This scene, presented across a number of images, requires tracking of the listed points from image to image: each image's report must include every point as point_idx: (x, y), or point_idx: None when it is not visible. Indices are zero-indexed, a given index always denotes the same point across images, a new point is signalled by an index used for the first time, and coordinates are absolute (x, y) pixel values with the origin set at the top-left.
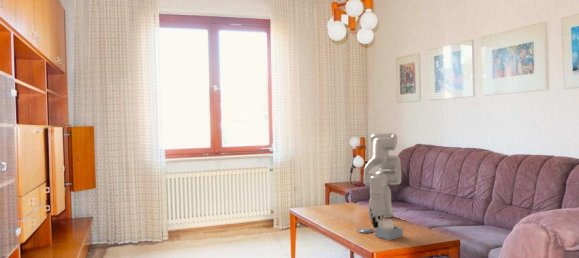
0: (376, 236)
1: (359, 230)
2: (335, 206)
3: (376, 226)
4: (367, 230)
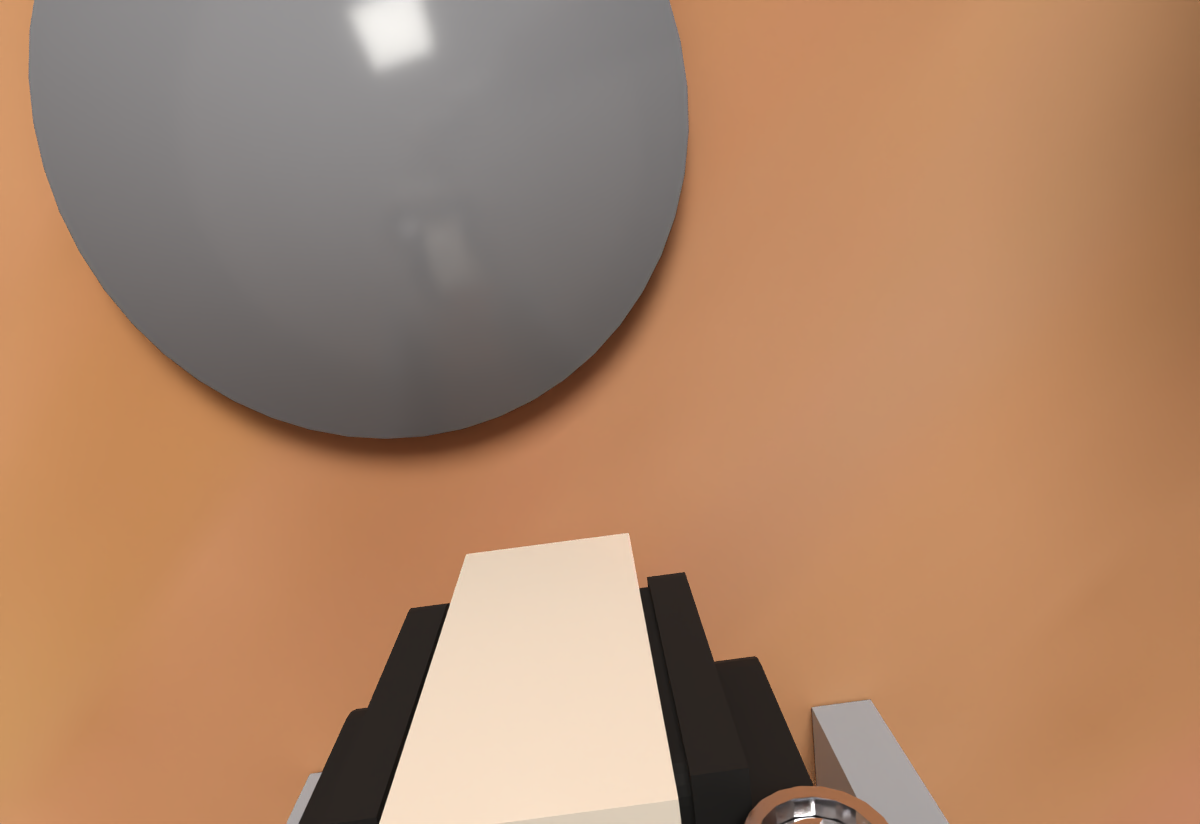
0: None
1: (134, 9)
2: None
3: None
4: (413, 201)
